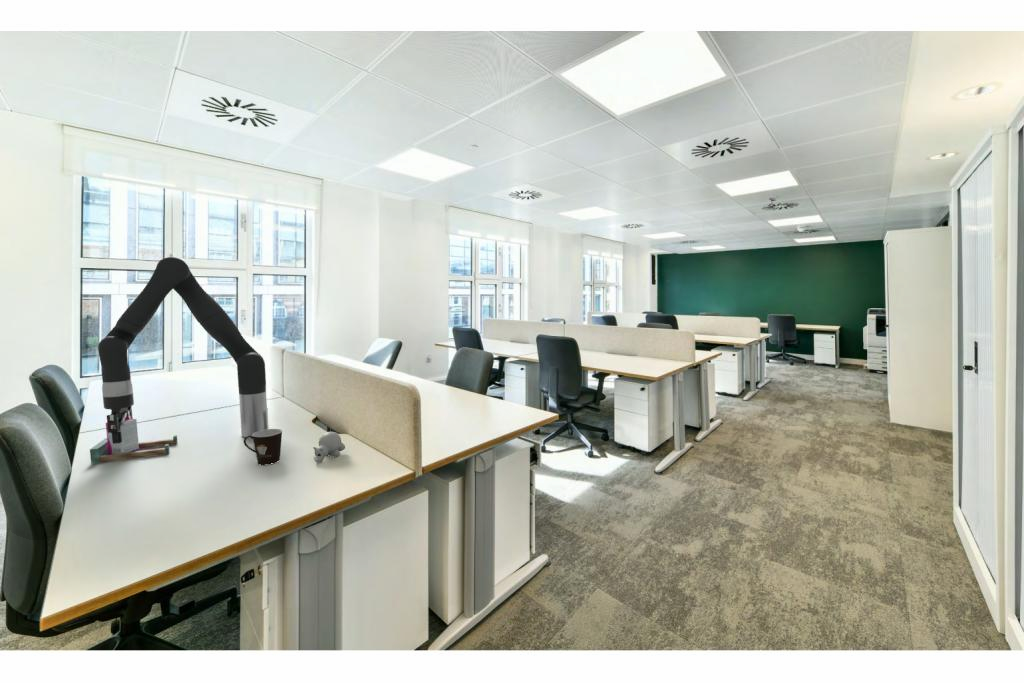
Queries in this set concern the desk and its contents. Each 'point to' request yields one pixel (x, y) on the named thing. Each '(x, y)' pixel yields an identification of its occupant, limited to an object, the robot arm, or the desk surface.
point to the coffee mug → (266, 445)
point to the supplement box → (124, 438)
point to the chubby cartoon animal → (328, 446)
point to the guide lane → (101, 452)
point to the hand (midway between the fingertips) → (122, 439)
